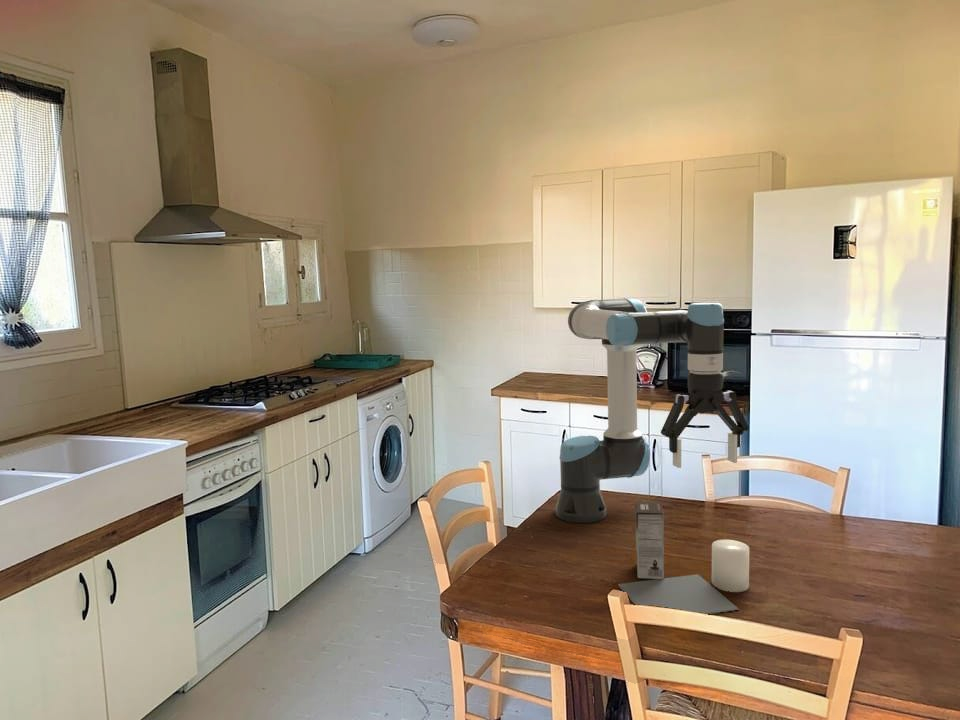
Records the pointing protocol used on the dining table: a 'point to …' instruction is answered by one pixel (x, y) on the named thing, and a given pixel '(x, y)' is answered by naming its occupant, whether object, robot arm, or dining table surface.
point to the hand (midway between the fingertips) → (704, 463)
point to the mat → (679, 594)
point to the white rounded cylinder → (730, 565)
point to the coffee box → (649, 540)
